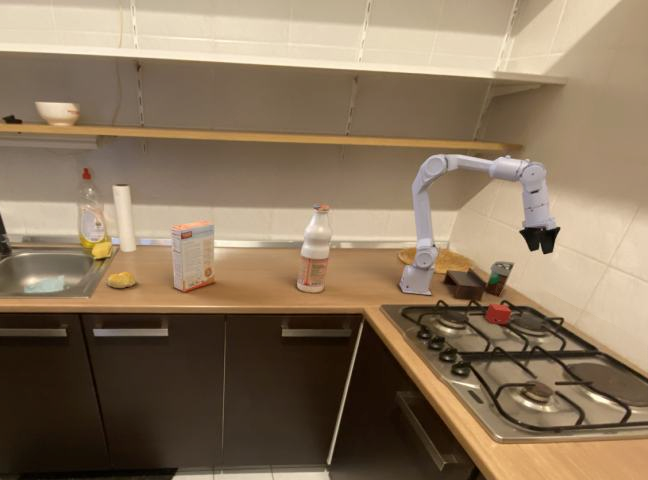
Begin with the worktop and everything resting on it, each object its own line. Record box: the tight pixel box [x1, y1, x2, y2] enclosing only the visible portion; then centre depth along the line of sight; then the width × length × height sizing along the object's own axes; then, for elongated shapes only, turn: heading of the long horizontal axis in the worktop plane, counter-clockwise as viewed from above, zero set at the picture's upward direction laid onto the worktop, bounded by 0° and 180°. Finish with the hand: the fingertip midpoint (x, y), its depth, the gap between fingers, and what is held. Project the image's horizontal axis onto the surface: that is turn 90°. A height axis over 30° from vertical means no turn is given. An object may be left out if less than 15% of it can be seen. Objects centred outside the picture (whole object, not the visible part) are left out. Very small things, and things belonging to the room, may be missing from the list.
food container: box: [485, 260, 515, 297], centre depth 138 cm, size 12×6×10 cm, turn 141°
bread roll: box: [107, 271, 136, 289], centre depth 131 cm, size 8×9×4 cm
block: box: [484, 303, 513, 325], centre depth 117 cm, size 4×4×4 cm
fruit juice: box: [296, 204, 333, 294], centre depth 129 cm, size 9×9×28 cm
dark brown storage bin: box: [442, 267, 488, 302], centre depth 137 cm, size 8×16×6 cm, turn 169°
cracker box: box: [170, 220, 215, 293], centre depth 129 cm, size 14×6×21 cm, turn 134°
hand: (541, 251), depth 114 cm, fingers open, 7 cm apart
